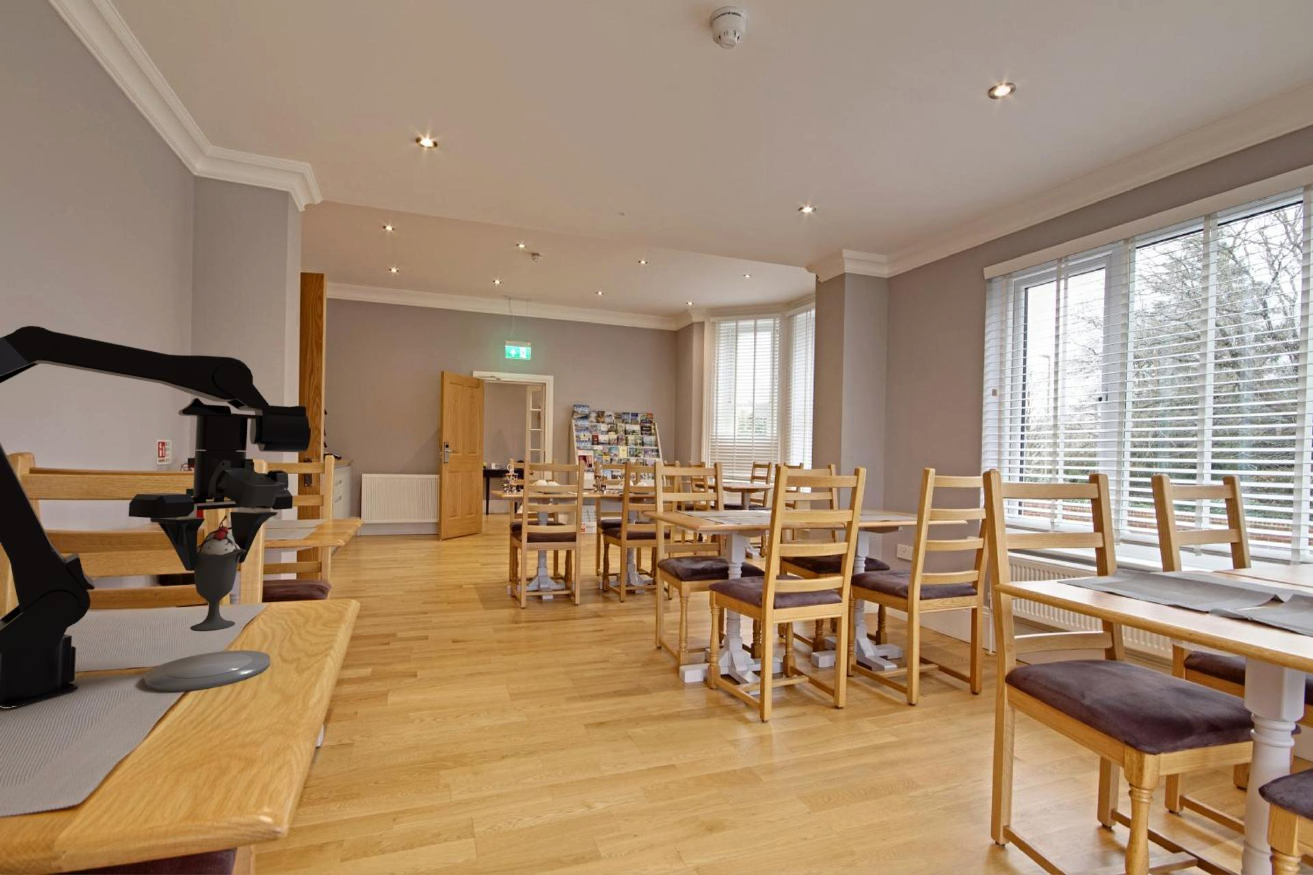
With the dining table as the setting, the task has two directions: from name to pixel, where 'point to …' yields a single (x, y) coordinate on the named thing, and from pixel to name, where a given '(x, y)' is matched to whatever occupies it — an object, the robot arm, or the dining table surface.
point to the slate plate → (207, 670)
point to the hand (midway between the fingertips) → (215, 566)
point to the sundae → (216, 574)
